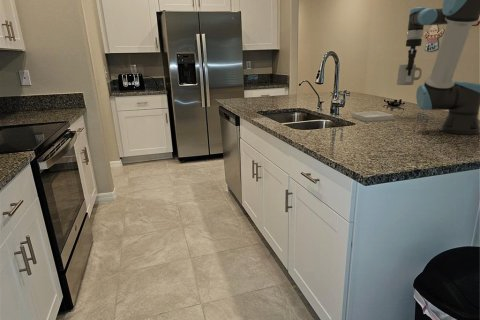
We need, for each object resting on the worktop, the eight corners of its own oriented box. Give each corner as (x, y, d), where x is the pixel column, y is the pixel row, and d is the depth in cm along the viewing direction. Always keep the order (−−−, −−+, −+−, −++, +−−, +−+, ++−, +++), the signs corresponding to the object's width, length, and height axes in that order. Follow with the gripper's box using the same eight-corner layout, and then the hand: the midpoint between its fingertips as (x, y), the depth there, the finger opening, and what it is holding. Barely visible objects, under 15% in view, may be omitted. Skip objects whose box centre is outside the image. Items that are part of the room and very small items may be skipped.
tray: (376, 115, 195) (377, 111, 194) (393, 120, 181) (394, 115, 180) (351, 117, 192) (351, 112, 191) (366, 122, 177) (366, 117, 177)
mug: (394, 84, 180) (397, 65, 177) (399, 83, 186) (401, 64, 183) (417, 85, 172) (420, 64, 169) (421, 84, 178) (424, 64, 175)
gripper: (407, 39, 182) (402, 79, 189) (405, 38, 165) (399, 82, 172) (422, 39, 179) (416, 79, 186) (421, 37, 161) (415, 82, 168)
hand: (408, 81), depth 179 cm, fingers closed on mug, 8 cm apart
